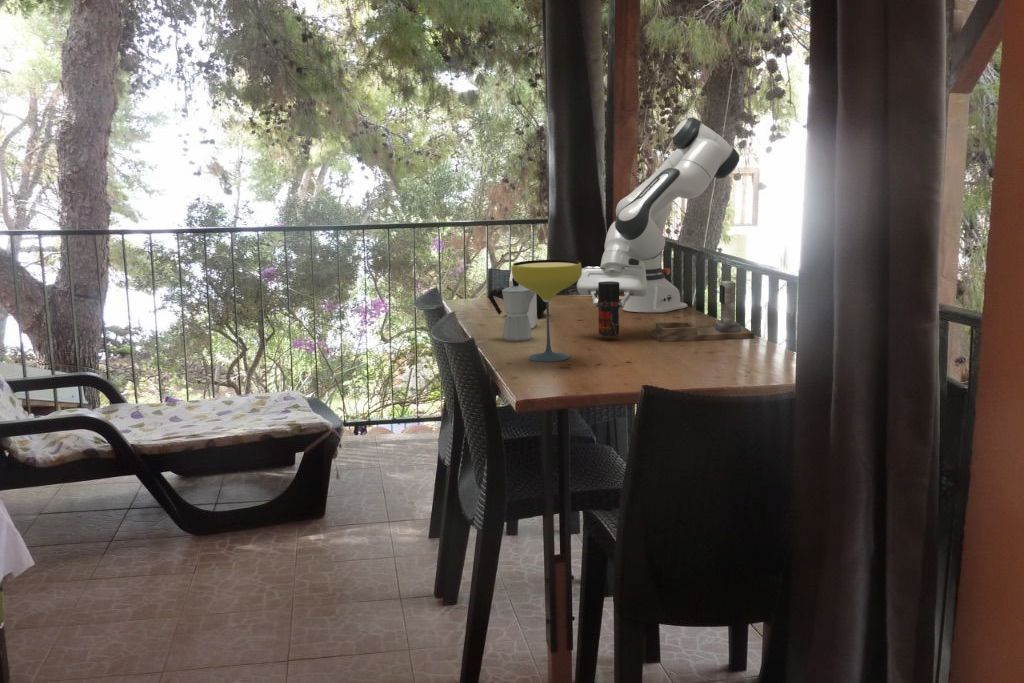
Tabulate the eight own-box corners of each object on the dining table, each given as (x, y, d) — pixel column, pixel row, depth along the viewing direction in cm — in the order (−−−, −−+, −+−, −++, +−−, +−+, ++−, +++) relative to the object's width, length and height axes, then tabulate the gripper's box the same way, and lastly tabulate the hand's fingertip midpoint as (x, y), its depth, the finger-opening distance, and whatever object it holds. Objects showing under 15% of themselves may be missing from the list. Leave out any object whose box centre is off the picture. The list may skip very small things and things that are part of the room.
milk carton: (533, 329, 297) (531, 267, 294) (510, 328, 299) (508, 267, 295) (537, 325, 304) (535, 264, 301) (515, 324, 306) (513, 265, 302)
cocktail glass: (587, 363, 247) (586, 265, 242) (517, 366, 245) (514, 268, 241) (577, 349, 264) (576, 258, 260) (511, 352, 263) (509, 260, 258)
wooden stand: (658, 341, 272) (658, 287, 269) (651, 334, 283) (651, 282, 280) (753, 338, 273) (754, 283, 270) (743, 331, 284) (743, 278, 281)
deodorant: (596, 333, 280) (596, 281, 277) (617, 332, 280) (617, 281, 277) (600, 337, 274) (600, 284, 271) (621, 336, 275) (621, 283, 272)
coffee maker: (542, 336, 285) (541, 275, 281) (533, 342, 277) (531, 279, 273) (495, 334, 290) (493, 275, 286) (484, 340, 281) (482, 278, 278)
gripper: (579, 260, 283) (570, 298, 276) (648, 261, 277) (642, 300, 269) (582, 273, 288) (574, 311, 281) (651, 274, 282) (644, 313, 274)
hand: (608, 305), depth 275 cm, fingers closed on deodorant, 6 cm apart
